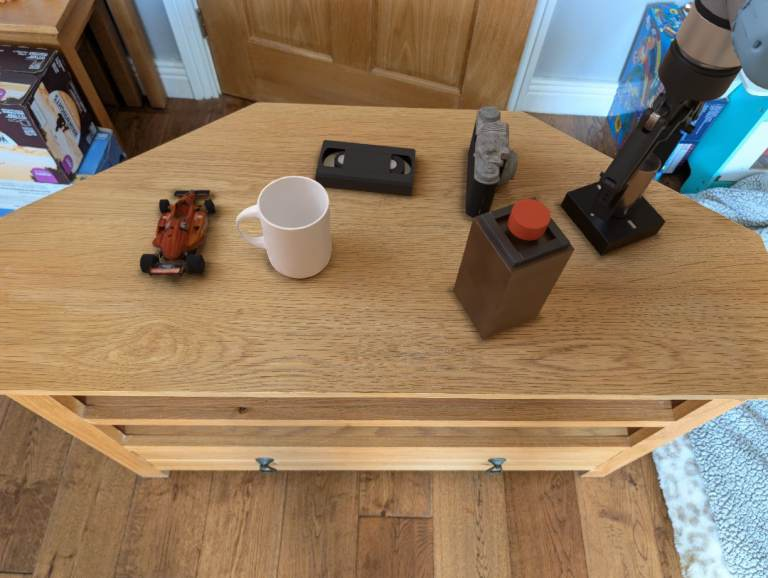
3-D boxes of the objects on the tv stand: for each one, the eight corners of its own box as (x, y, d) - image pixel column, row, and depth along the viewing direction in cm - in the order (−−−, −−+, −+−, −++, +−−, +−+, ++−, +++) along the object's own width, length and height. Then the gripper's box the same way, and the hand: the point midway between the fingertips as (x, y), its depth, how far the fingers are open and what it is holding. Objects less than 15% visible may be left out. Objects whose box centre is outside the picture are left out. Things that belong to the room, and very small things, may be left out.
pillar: (536, 318, 72) (577, 244, 59) (482, 340, 70) (513, 268, 57) (504, 271, 76) (536, 191, 63) (452, 290, 74) (474, 212, 60)
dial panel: (656, 234, 81) (666, 220, 78) (600, 256, 78) (609, 242, 75) (614, 187, 85) (622, 172, 83) (560, 205, 83) (567, 191, 80)
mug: (248, 226, 78) (235, 171, 69) (334, 231, 78) (332, 177, 69) (238, 277, 73) (221, 226, 64) (329, 282, 74) (325, 231, 65)
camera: (509, 223, 80) (527, 174, 72) (463, 218, 81) (475, 168, 72) (508, 152, 88) (525, 100, 80) (466, 147, 89) (478, 95, 80)
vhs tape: (414, 158, 87) (416, 148, 85) (411, 196, 82) (412, 186, 81) (323, 149, 87) (323, 139, 85) (315, 186, 83) (315, 176, 81)
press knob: (552, 233, 59) (558, 221, 57) (520, 245, 58) (525, 233, 56) (532, 207, 61) (537, 194, 59) (500, 217, 60) (504, 205, 58)
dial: (618, 191, 81) (647, 142, 73) (637, 212, 79) (669, 164, 71) (594, 199, 80) (620, 151, 72) (612, 222, 78) (642, 174, 70)
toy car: (221, 193, 81) (214, 171, 77) (201, 288, 72) (193, 269, 68) (166, 191, 81) (158, 170, 77) (140, 287, 72) (129, 267, 68)
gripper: (730, -8, 65) (649, 134, 83) (614, 82, 55) (550, 221, 73) (792, 21, 62) (694, 161, 80) (682, 121, 52) (598, 255, 70)
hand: (625, 190), depth 76 cm, fingers open, 13 cm apart
